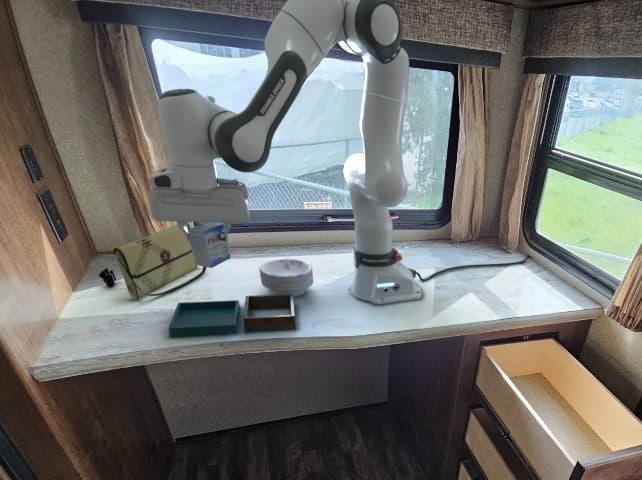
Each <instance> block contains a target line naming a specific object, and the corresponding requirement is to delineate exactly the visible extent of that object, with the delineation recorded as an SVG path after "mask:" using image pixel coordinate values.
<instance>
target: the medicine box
mask: <svg viewBox="0 0 642 480" xmlns="http://www.w3.org/2000/svg"><path fill="white" fill-rule="evenodd" d="M225 230H226V227H224V223H223V222H203V223H202V224H199V225H197V226H193V227H190V229H188V235H189V239H190V243H191V248H192V252H193V257H194V261H195V265H197V266H198V267H202V268H203V267H206V268H208V269H209V268H210V269H213V268H215V267H217V266H218V265H220V264H222V263H224V262H226V261H228V260H230V259H231V251H230V245H229V240H228V241H222V240H221V235H220V234H221V232H225Z"/></svg>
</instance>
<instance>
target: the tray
mask: <svg viewBox="0 0 642 480" xmlns="http://www.w3.org/2000/svg"><path fill="white" fill-rule="evenodd" d="M240 315H241V304H240V301H239V299H234V300H233V299H231V300H213V301H209V300H208V301H187V302H186V301H184V302H177V304H176V307H175V309H174V312H173V315H172V318H171V321H170V323H169V326H168V332H169V335H170V337H171V338H183V337H201V336H202V337H203V336H219V335H233V334H235V335H236V334H238V330H239V329H238V328H239V321H240Z"/></svg>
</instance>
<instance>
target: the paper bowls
mask: <svg viewBox="0 0 642 480" xmlns="http://www.w3.org/2000/svg"><path fill="white" fill-rule="evenodd" d="M259 277H260V283H261V285H262V286H263V287H264V288H265V289H267V290H268V289H269V290H270V292H271V294H272V295H280V294H293V298H294V297H298V296H299V297H300V296H301V295H303V294H304V293H305V292H306V291H307V289H308V288H310V287H311V286H312V285H313V284H314V274H313V266H312V265H311V264H310V263H309V262H307V261H305V260H302V259H301V260H300V259H295V258H277V259H271V260H268V261H265V262H263V263H262V264H261V265H260V266H259Z"/></svg>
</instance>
